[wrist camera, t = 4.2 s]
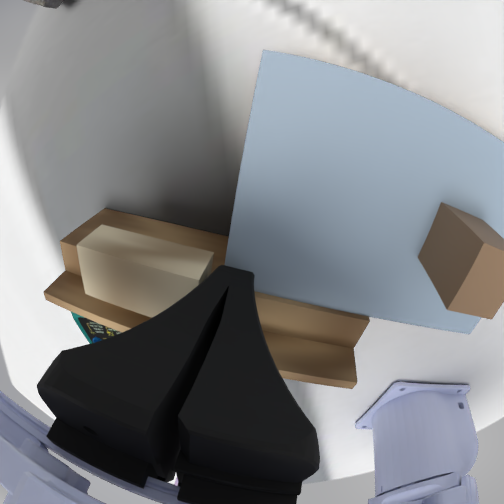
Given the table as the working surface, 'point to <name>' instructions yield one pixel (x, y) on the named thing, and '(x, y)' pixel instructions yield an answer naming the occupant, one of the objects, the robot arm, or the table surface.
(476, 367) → the table surface
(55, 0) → the pipe
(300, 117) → the lid
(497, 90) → the table surface
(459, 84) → the table surface
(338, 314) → the toolbox
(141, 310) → the cream rectangular block
